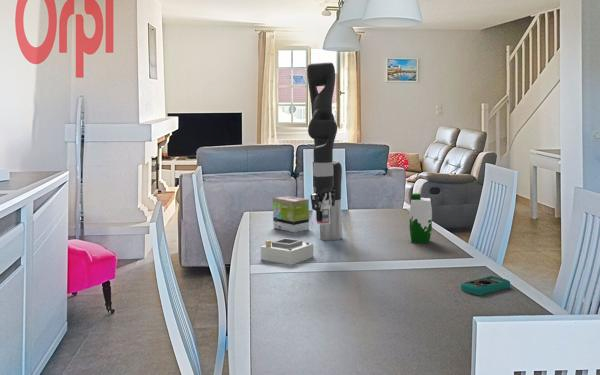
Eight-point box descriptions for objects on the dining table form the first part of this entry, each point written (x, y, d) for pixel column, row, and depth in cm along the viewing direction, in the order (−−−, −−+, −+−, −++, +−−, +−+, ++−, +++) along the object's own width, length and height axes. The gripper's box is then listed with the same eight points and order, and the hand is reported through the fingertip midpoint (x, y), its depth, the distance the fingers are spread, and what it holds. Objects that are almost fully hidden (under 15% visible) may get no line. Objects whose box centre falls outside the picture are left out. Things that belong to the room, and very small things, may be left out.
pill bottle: (321, 221, 221) (321, 198, 220) (333, 222, 218) (333, 199, 217) (314, 223, 217) (313, 200, 216) (326, 225, 214) (325, 201, 213)
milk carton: (409, 239, 250) (410, 192, 247) (431, 239, 248) (432, 192, 245) (409, 243, 241) (409, 195, 239) (431, 244, 239) (432, 195, 237)
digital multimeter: (459, 291, 177) (459, 282, 177) (491, 283, 185) (492, 274, 185) (478, 297, 171) (478, 288, 171) (511, 289, 179) (511, 279, 179)
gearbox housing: (283, 252, 229) (283, 234, 228) (313, 256, 221) (313, 238, 220) (261, 259, 217) (260, 241, 216) (291, 264, 209) (291, 245, 208)
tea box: (272, 228, 277) (271, 197, 275) (288, 225, 283) (287, 195, 282) (293, 233, 266) (293, 200, 264) (309, 229, 272) (309, 198, 271)
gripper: (325, 171, 223) (325, 215, 225) (303, 175, 211) (304, 221, 214) (342, 172, 219) (342, 217, 221) (321, 177, 207) (321, 223, 209)
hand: (323, 219), depth 217 cm, fingers closed on pill bottle, 5 cm apart
